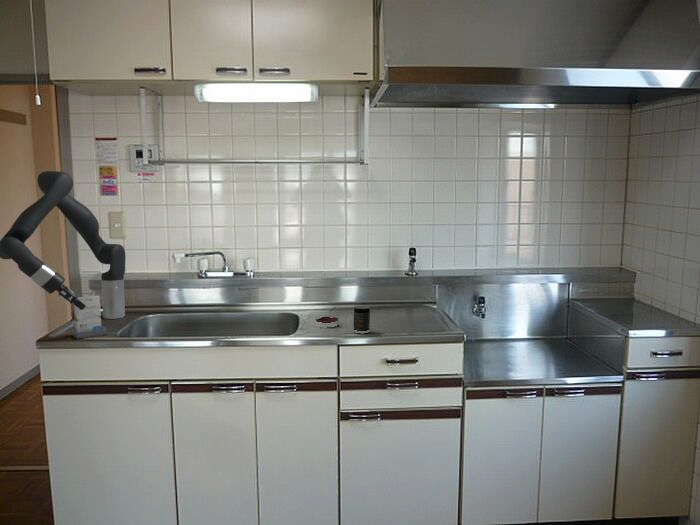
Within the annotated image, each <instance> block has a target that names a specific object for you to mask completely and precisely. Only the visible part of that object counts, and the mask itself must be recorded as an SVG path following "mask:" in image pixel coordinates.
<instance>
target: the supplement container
mask: <svg viewBox="0 0 700 525" xmlns="http://www.w3.org/2000/svg"><path fill="white" fill-rule="evenodd" d="M354 330H357V331H367V330H370V331H371V307H370V306H368V305H355V306H353V331H354Z"/></svg>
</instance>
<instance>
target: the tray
mask: <svg viewBox="0 0 700 525" xmlns="http://www.w3.org/2000/svg"><path fill="white" fill-rule="evenodd" d="M70 331H71V336H72V335H73V337H74V338H75V337H76V338H75V339H77V338H83V339H88V338H87V337H90V338H96V337H103V336H107V335H108V328H107V327H105V326H102V325H101V329H100V330H92V331H85V332H77V331H76V330H75V328H71V330H70Z"/></svg>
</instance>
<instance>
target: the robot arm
mask: <svg viewBox="0 0 700 525" xmlns="http://www.w3.org/2000/svg"><path fill="white" fill-rule="evenodd" d="M36 181H37V186H38V187H39V189H40V191H41V193H43V194H44V195H42V196H41V198H39V199H37V201H35V202H34V203H31V204H30V205H29V206H28V207H27V208H25V209H24V210H23V211H22V212H21V213H20V214H19V216H18V217H17V218H16V220H15V221H14V222H13V224H12V225H11V226H10V228H9V230H8V231H6V233H5V234H4V236H2V238H0V259H1V260H12V261H13V262H15V264H16V265H17V267H18V270H20V272H22V273H24V274H25V275H26V276H27V277H29V278H30V280H32V281H33V283H35V284H37V285H38V286H39V288H42V289H43V290H44V291H45V292H46V293H48V294H49V295H51V294H53V293H54V292H56V291H57V292H58V296H60V298H63V299H64V300H65V301H66V302H69V304H71V305H72V304H73V306H74V305H75V306H77V307H78V308H79V309H81V310H83V309H84V308H85V307H86V306H85V304H83V303H82V302H81V301H79V300H78V298H77V297H78V296H77V295H76V293H75V292H74V291H73V290H72V289H71V288H70V287H68V286H67V285H65V284H64V283H65V281H66V279H65V277H63V276H62V275H61V274H60V273H58V272H57V271H56V270H55V269H54V268H52V267H51V266H49V265H48V264H46V263H45V262H43V261H42V260H41V259H40V258H38V257H37V256H36V255H35V254H34V253H33V252H32V251H31V249H30V248H29V247H28V246H27V245H26V244H25V243H26V241H27V240H29V238H31V237H32V235H34V233H35V231H36V229H38V228H39V226H40V224H41V223H42V222H43V220H44V219H45V218H46V217H47V216H48V215H49V214H50V212H52V210H54V209H55V207H57V208H58V209H59V210H60V212H61V214H62V215H63V216H64V217H65V218H66V219H67V220H68V222H69V223H70V225H71V226H72V227H73V228H74V229H75V231H76V232H77V233H78V234H79V236H81V238H82V239H83V240H84V242H85V243H86V244H87V245H88V247H89V249H90V250H91V252H92V253H93V255H94V257H95V258H96V260H97V261H98V263H101V264H103V265H109V269H108V270H107V271H104V272H103V273H101V276H100V278H101V301H102V319H105V320H114V319H122V318H125V317H126V308H125V307H126V305H125V303H126V300H125V279H124V278H125V277H124V276H125V272H126V250H125V247H124V246H123V245H122V244H120V243H119V244H118V243H107V242H106V241H104V240H103V238H102V237H101V236H100V233H99V232H100V223H99V221H98V219H97V218H96V216H95V215H94V213H93V212H92V210H90V209H89V208H88V207H87V206H86V205H84V204H83V203H81V201H79V200H77V199H75V198H74V197H73V196H72V195H70V193H71V191H72V189H73V187H74V180H73V177H72V176H71V174H69V173H67V172H64V171H58V170H57V171H56V170H46V171H41V172H40V173H39V174H38V176H37V180H36ZM124 316H125V317H124Z"/></svg>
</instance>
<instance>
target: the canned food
mask: <svg viewBox="0 0 700 525" xmlns="http://www.w3.org/2000/svg"><path fill="white" fill-rule="evenodd" d="M336 308H337V307H336V306H335V307H333V308H332V309H330V310H329V311H328V312H326V313H324V314H321V315H320V316H317V317H316V318H315V319H314V320H316V321H317V322H322V323H331V322H336V321H338V322H339V318H338V317H336V316H335V317H334V316H332V317H333V318H330V317H331V316H327V315H328V314H329V313H330V312H332V311H333V310H335V309H336Z"/></svg>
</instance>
